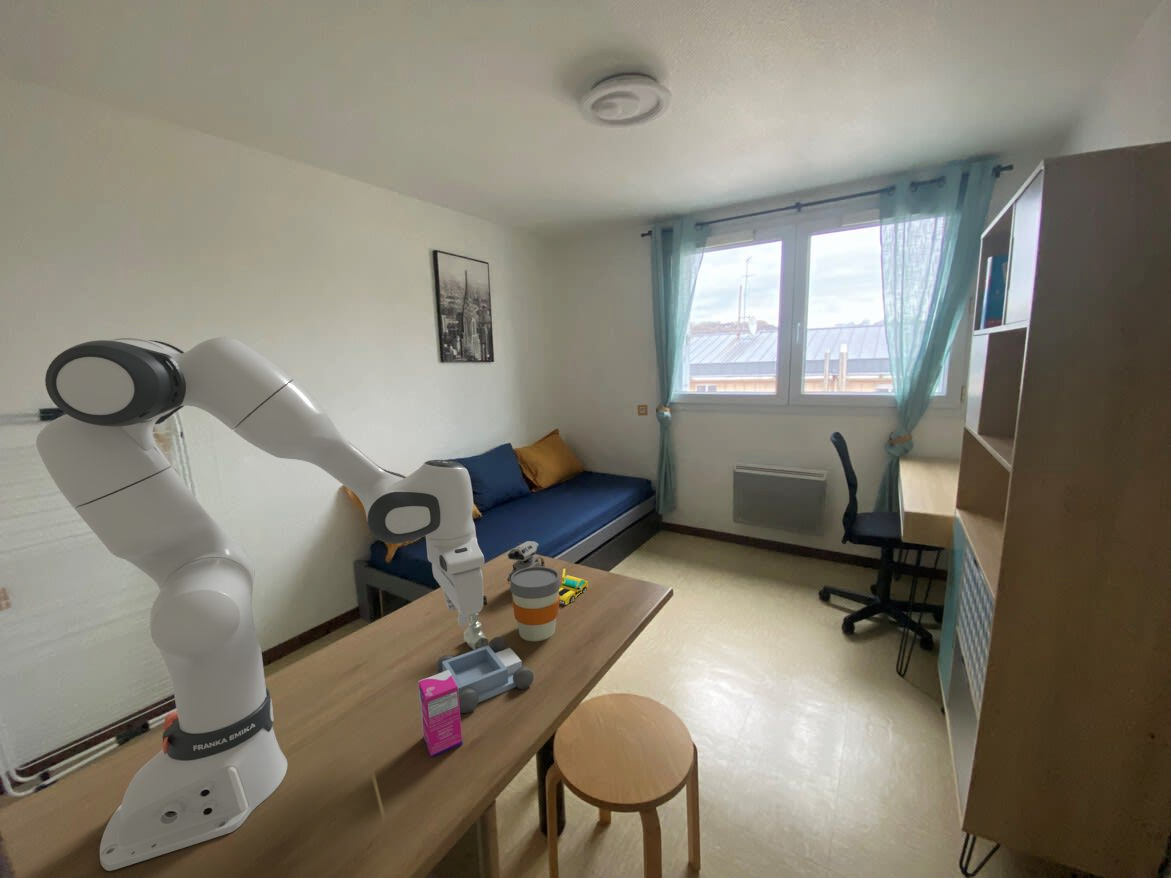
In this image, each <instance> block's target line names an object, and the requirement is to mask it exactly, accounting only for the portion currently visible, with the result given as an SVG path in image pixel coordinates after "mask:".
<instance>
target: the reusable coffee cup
mask: <svg viewBox="0 0 1171 878" xmlns="http://www.w3.org/2000/svg"><path fill="white" fill-rule="evenodd" d="M560 583H561V578H560V574H559V572H558V571H557V570H556V569H554V568H552V567H549V566H548V567H547V566H545V567H528V568H524V569H521V570H518V571H517V572H515V573H514V574H513V575H512V576H511V581H510V582H509V586H510V587H509V590H510V592H511V596H512V597H511V603H512V604H511V606H512V609H513V610H512V611H513V615H514V619H515V620H516V623H517V627H518V629H517V630H518V633H519V636H520V638H522V639H523V640H525V641H529V642H541V641H544V640H547V639H550V638H551V637H552V636H553V635H554V634H555V631H556V625H557V624H556V623H557V617H558V615H559V609H560V603H559V601H560V595H559V589H560V587H561V584H560Z"/></svg>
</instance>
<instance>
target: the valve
mask: <svg viewBox="0 0 1171 878" xmlns="http://www.w3.org/2000/svg"><path fill="white" fill-rule="evenodd" d="M487 605H488V598H487V595H483V606H487ZM479 617H480V616H479V612H477V613H474V614H471V615H469V621H471V622H469V625H468V627H467V628H466V629H464V631H463V640H464V641H465V642H466V644H467V645H468V647H469V648H471V649H472V651H474V650H476V649H479V648H482V647H485V646H488V645H489V639H488V638H487V636H486V635H485V634H484V632H483V631H482V623H481V622H480V621H479Z"/></svg>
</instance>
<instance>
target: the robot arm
mask: <svg viewBox="0 0 1171 878" xmlns="http://www.w3.org/2000/svg"><path fill="white" fill-rule="evenodd" d="M44 378H45V379H44V383H45V389H46V391H47V394H48V396H49V398H50V399H51V401H52V403H53V404H54V405H55V406H56V407H57V408H58V409H60V410H61V411H62V413H65V414H63V415H61V416H58V417H57V418H55V419H54V420H52V421H50V422H49V423H48V424H47V425H45V426H44V427H43V428H42V429H41V430H40V431H39V433H38V435H37V436H36V440H35V446H36V449H37V452H38V454H39V456H40V458H41V460H42V463H43V464H44V465H45V468H46V470H47V472H48V474H49V475H50V477H51V478H52V480H53V482H54V483H55V486H56V487H57V488H58V489H59V491H60V492H61V494H62V495H63V496H64V497H65V499H66V500H67V501H68V503H69V504H70V505H71V507H72V508H73V509H74V510H75V511H76V513H77V514H78V515H79V516H80V517H81V519H82V520H83V521H84V522H85V523H86V525H87V526H88V527H89V528H90V529H91V531H92V532H93V533H94V534H95V535H96V537H97V538H98V539H99V541H101V543H102V544H103V545H104V546H105V547H106V548H107V550H108V551H109V552H110V553H111V554H112V555H113V556H115V557H116V558H119V559H122V560H125V561H127V562H129V563H131V564H132V565H134V566H135V567H136V568H138V569H139V570H140V571H141V572H143V573H144V574H146V575H148V577H150V579H152V580H153V581H154V582H155V583H156V585H157V586H158V589H159V591H160V592H159V593H158V595H157V597H156V598H155V600H154V601H153V603H152V606H151V609H150V615H149V617H150V618H149V619H150V621H149V627H150V628H149V629H150V636H151V639H152V642H153V643H154V645H155V646H156V647H157V648H158V649H159V651H160V655H161V657H162V659H163V662H164V663H165V666H166V668H167V670H168V673H169V676H170V680H171V684H172V689H173V696H174V702H175V709H176V711H172V712H170V713H168V714H167V715H166V717H165V719H164V722H163V725H162V728H163V730H164V731H163V734H162V749H160V751H159V752H158V753H157V754H155V755H154V756H153V757H151V759H150V760H149V761H147V762H146V763H145V764H143V766H141V768H139V770H138V771H137V772H136V773H135V775H134V776H133V777H132V779H131V781H130V782H129V785H128V786H127V789H126V790H125V792H124V796H123V798H122V801H121V804H120V805H119V807H117V809H116V810H115V811H114V813H113V814H112V815H111V817H110V820H108V823H107V825H106V827H105V829H104V831H103V835H102V837H101V841H100V845H99V862H100V865H101V866H102V868H103V869H104V870H106V871H108V872H112V871H115V870H119V869H122V868H124V867H127V866H131V865H133V864H136V863H140V862H144V861H146V860H150V859H152V858H153V859H154V858H157V857H159V856H162V855H165V854H168V853H171V852H175V851H177V850H181V849H184V848H186V847H191V846H193V845H197V844H200V843H203V842H206V841H209V840H212V839H216V838H219V837H221V836H225V835H227V834H230V833H233V832H235V831H236V830H237V829H238V828H239V827H240V826H242V825H243V823H244V822H245V821H246V819H248V817H249V815H250V814H251V813H252V812H253V811H254V810H255V809H256V808H257V807H258V806H260V805H261V804H262V803H263V802H264V801H265V800H266V799H268V798H269V797H270V796H271V795H272V794H273V793H274V791H275V790H277V788H278V787H279V785H281V783H282V781H283V780H284V778H285V776H286V773H287V770H288V760H287V758H286V756H285V755H284V753H283V751H282V750H281V747H280V745H279V743H278V740H277V737H276V734H275V730H274V727H273V725H274V720H275V719H274V707H273V700H272V697H271V693H270V690H269V689H268V687H267V686H266V679H265V670H264V662H263V661H264V660H263V654H262V648H261V646H260V642H259V639H258V634H257V631H256V626H255V621H254V616H253V615H254V613H253V601H252V599H253V590H254V589H253V587H254V580H255V574H256V573H255V566H254V564H253V561H252V559H251V558H250V556H249V554H248V553H247V552H246V550H244V549H243V548H242V547H241V546H239V544H238V543H237V542H236V541H235V540H234V538H233V537H232V536H230V534H229V533H228V532H227V531H226V530H225V528H223V527H222V526H221V525H220V524H219V523H218V522H217V521H216V520H215V519H214V518H212V516H211V515H210V514H209V513H208V512H207V511H206V510H205V509H204V507H203V506H202V505H201V503H200V502H199V501H198V500H197V498H196V497H195V495H194V494H193V492H192V491H191V490H190V489H189V487H188V486H187V484H186V483H185V482H184V481H183V479H182V478H181V476H180V475H179V473H178V471H176V469H175V468H174V467H173V465H172V464H171V463H170V461H169V460H168V459H167V457H166V456H165V454H164V453H163V452H162V451H161V449H160V447H159V446H158V444H157V441H156V440H155V438H154V427H155V425H160V424H161V423H163V422H165V421H166V420H167V419H168V418H170V417H172V416H173V414H175V413H176V412H178V411H179V410H180V409H183V408H184V407H185V406H186V407H194V408H198V409H201V410H203V411H205V412H206V413H209V414H210V415H211V416H213V417H215V418H216V419H218V420H219V421H221V423H222V424H223V425H225V426H226V427H228V428H229V429H230V430H231V431H233V432H234V433H235V434H237V435H238V436H239V437H241V438H242V439H244V440H245V441H246V442H248V443H250V444H251V445H253V446H254V447H256V448H258V449H259V450H262V451H263V452H265V453H267V454H269V455H271V456H273V457H275V458H280V459H284V460H286V459H289V460H297V461H302V462H307V463H310V464H312V465H315V466H316V467H318V468H320V469H321V470H323V471H325V472H326V473H327V474H329V475H330V476H331V477H333V478H334V479H335V480H336V481H338V482H339V483H341V484H342V485H343V486H344V487H346V488H347V489H348V490H350V491H351V492H352V493H354V494H355V496H356V497H357V498H358V500H359V501H360V504H361V505H362V507H363V510H364V512H365V516H366V521H367V527H368V529H369V530H370V532H371V534H372V535H373V536H374V538H376V539H377V540H379V541H380V542H383V543H386V544H391V545H398V544H399V545H400V544H404V543H407V542H410V541H413V540H416V539H420V538H422V537H424V536H425V543H426V545H425V546H426V554H427V555H426V556H427V560H428V562H430V563H431V569H432V570H431V571H432V575H433V578H434V579H435V580H436V582H437V583H438V585H439V586H440V587H441V589H442V591H443V594H444V598H445V603H446V605H445V606H446V608H447V609H448V611H450V612H451V611H453V610H454V611H455V610H457V615H456V617H457V618H456V619H457V620H456V622H457V624H458V625H459V627H461V628H463V627H466V626H469V624H470V615H471V614H474V613H480V612H481V611H482V609H483V606H484V604H483V596H484V577H483V571H482V568H481V567H484V566H485V556H484V554H483V552H482V550H481V548H480V546H479V544H478V538H477V533H476V525H475V522H474V519H473V518H474V517H473V513H474V512H473V511H474V505H475V504H474V494H473V487H472V481H471V476H470V474H469V470H468V469H467V468H466V467H465V466H464V465H463V464H461V463H459V462H457V461H454V460H453V461H452V460H448V459H430V460H427V461H425V462H424V463H422V465H421V466H420V467H418V469H416V470H415V471H414V472H412V473H411V474H409V475H408V476H405V475H404V474H400V473H398V472H393V471H390V470H387V469H385V468H382V467H381V466H379V465H378V464H376V463H375V461H373V460H371V459H370V458H369V457H368V456H366V455H365V453H363V452H362V451H360V449H358V448H357V447H356V446H355V445H353V444H352V443H351V442H350V441H349V440H347V439H346V438H345V436H344V435H343V434H342V432H340V431H339V429H338V428H337V427H336V425H335V424H334V423H333V421H332V419H331V417H329V415H328V414H327V413H326V411H325V409H323V408H322V406H321V405H320V404H319V402H318V401H317V400H316V399H315V397H313V396H312V395H311V394H310V392H308V390H306V389H305V387H303V386H302V385H301V384H300V383H299V382H298V381H297V380H296V379H294V378H293V376H292V375H290V374H288V372H286V371H285V370H283V369H282V367H279V366H278V365H277V364H276V363H274V362H273V361H272V360H270V359H268V357H266V356H264V355H263V354H261V353H260V352H259V351H257V350H256V349H254V348H252V347H250V346H249V345H247V344H245V343H244V342H242V341H241V340H238V339H236V338H233V337H226V336H224V337H223V336H221V337H214V338H210V339H207V340H204V341H202V342H199V343H198V344H196V345H195V346H193V347H192V348H191V349H188V350H187V351H186V352H184V351H183V350H182V349H180V348H179V347H177V346H175V345H173V344H171V343H166V342H163V341H161V340H160V341H159V340H149V339H143V338H131V337H127V338H126V337H122V338H114V339H110V340H105V339H104V340H101V339H100V340H91V341H87V342H86V341H85V342H81V343H80V344H76V345H73V346H72V347H70V348H67V349H65V350H64V351H62V352H60V353H59V354H58V355H57V356H55V358H54V359H53V360H52V361H51V362H50V364H49V365H48V368H47V370H46V372H45V377H44Z"/></svg>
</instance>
